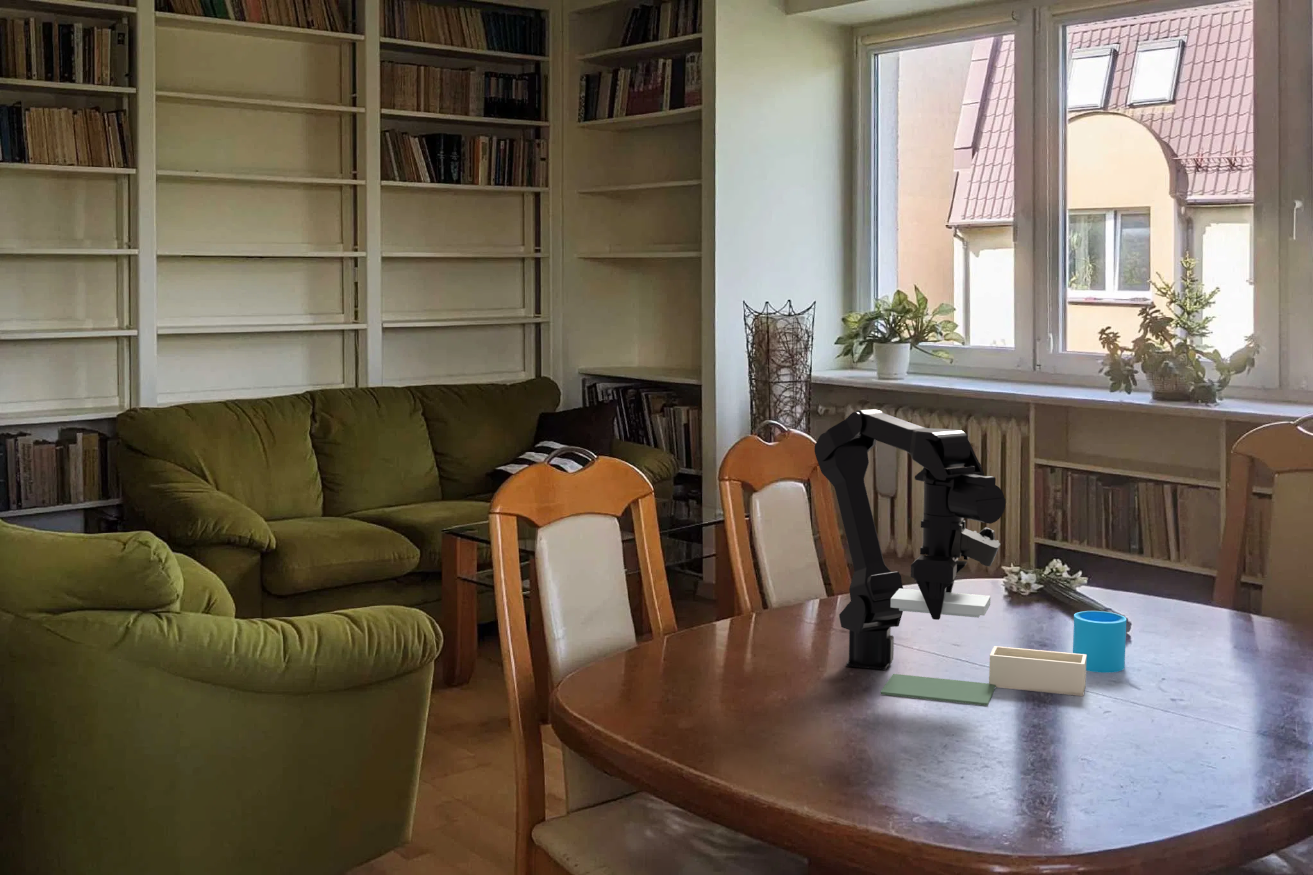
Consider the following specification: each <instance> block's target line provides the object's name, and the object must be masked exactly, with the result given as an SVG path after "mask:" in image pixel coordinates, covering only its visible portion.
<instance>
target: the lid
mask: <svg viewBox="0 0 1313 875" xmlns="http://www.w3.org/2000/svg"><path fill="white" fill-rule="evenodd" d="M991 598H992V596H991V595H987V594H986V595H984V594H972V593H961V592H960V593H959V592H951V593H950V592H946V593H945V598H944V603H943V608H942V612H941V615H945V616H953V617H955V616H956V617H968V618H978V619H979V618H980V617H981V616H985V615H986V613H987V611H988V610H989V608H990V607H991ZM891 607H892V608H899V611H903V612H911V613H922V614H930V612H929V609H928V607H927V605H926V602H925V600H924V598H923V595H922V593H921V591H920V589H912V588H903V589H901V588H899V589H898V591H897V592H896V593H895V594H894V595H893V596H892V598H891Z"/></svg>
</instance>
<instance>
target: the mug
mask: <svg viewBox="0 0 1313 875" xmlns="http://www.w3.org/2000/svg"><path fill="white" fill-rule="evenodd" d="M1126 632H1127V617H1126V616H1124V615H1121V614H1119V613H1115V612H1111V611H1104V610H1101V611H1100V610H1084V611H1079V612H1075V613H1074V614H1073V633H1072V634H1073V637H1072V638H1073V640H1072V641H1073V642H1072V653H1075V654H1086V655H1087V657H1086V672H1093V673H1103V674H1106V673H1107V674H1108V673H1109V674H1110V673H1111V674H1112V673H1119V672H1122V671H1123V670H1125V669H1126V668H1125V665H1126V664H1125V663H1126V643H1127V642H1126V639H1127V638H1126V637H1127V633H1126Z"/></svg>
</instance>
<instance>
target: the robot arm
mask: <svg viewBox="0 0 1313 875" xmlns="http://www.w3.org/2000/svg"><path fill="white" fill-rule="evenodd" d="M877 441H878V442H880V443H883V444H886V445H888V446H891V447H893V448H896V449H899V450H902V451H904V452H906V453H907V454H909V455H910V457H911V460H913V461H914V462H915V463H916V464H918V465H920V467H922V469H921V470H920V471H919V472H918V473H916V474H915V475H914V480H915V481H920V482H923V514H922V516H923V517H922V520H920V528H921V529H922V545H921V546H920V548H919V549H920V550H919V552H920V553H919V554H920V555H919V556H918V557H917V558H916V559H915V560H914V561H913V562H912V563H911V564H910V578H912V579H914V581H915V582H916V584H917V586H918V588H919V589H918V590H920V591H921V593H922V595H923V598H924V600H925V602H926V605H927V607H928V609H929V612H930V613H929V614H930V616H931V619H932V620H937V621H939V620H940V619H941V616H942V614H941V612H942V608H943V603H944V598H945V593H946V592H950V593H953V592H952V591H953V588H954V584H955V581H956V579H957V578H958V576H957V574H958V573H959V572H960V571H961V570H962V569H964V567H965V566H966V565H967V564H968V560H969V559H971V560H975V561H977V562H979V563H980V564H981V565H983V566H984V567H991V566H992V564H993V563H994V561H995V558H996V556H997V554H998V551H999V549H1000V547H1001V542H1000V540H998V539H996V533H995V530H993V529H992V528H989V527H987V526H985V527H983V529H981V530H980V531H979V532H978V531H977V530H974V531H973V530H970V529H968V528H966V526H967V524H966V523H967V522H966V520H964V519H967V520H969V521H975V522H980V523H984V524H987V525H988V524H994V523H996V522H998V521H999V520H1000V518H1002V516H1003V514H1004V512H1005V510H1006V509H1005V508H1006V504H1007V501H1006V497H1005V494H1004V492H1003V490H1002V489H1001V488H1000V487H999V486H998V485H996V480H997V479H996V477H995V476H992V475H985V472H984V471H983V468H982V465H981V462H980V461H979V459H978V457H977V455H976V453H975V451H974V448H973V446H972V445H971V442H970V440H969V439H968V435H967V433H966V432H964V431H963V430H960V429H953V428H952V429H951V428H929V427H924V426H921V425H918V424H915V423H912V422H910V421H909V422H908V421H907V420H904V419H901V418H898V417H895V416H892V415H890V414H887V413H884V412H883V411H882V410H878V408H877V409H876V408H874V409H873V408H872V409H871V408H870V409H857V410H855V411H853V412H851V413H850V414H849V415H848V416H847V417H846V418H845V419H843V420H842V421H841V422H838V423H837V424H835V425H833V426H831V427H830V428H829V429H827V430H826V431H825V432H823V433H821V434H820V435H819V436H818V438H817V441H816V443H815V444H814V455H815V458H816V461H817V464H818V466H819V469H820V472H821V474H822V475H823V477H825V478H826V479H827V481H829V483H830V484H831V485H832V486H833V488H834V491H835V496H836V498H837V504H838V507H839V510H840V516H841V519H842V523H843V528H844V532H845V536H846V540H847V545H848V548H849V552H850V557H851V562H852V565H853V571H854V572H853V575H852V578H851V582H850V584H849V585H850V586H849V589H848V590H849V597H850V601H849V602H848V604H847V605H846V606H845V607H844V609H842V610H841V612H840V613H839V614H838V617H839V622H840V626H841V628H842V629H846V630H848V631H849V632H848V660H847V662H845V667H846V666H847V667H852V668H861V669H870V670H871V669H872V670H886V669H887V668H888V667H889V666H890V665H891V664H892V662H893V660H894V649H895V648H894V647H895V646H894V645H895V644H894V642H895V638H894V636H893V635H891V631H892V630H891V628H894V627H895V628H896V627H899V626H900V623H901V619H902V615H903V612H904V611H899V608H892V607H891V598H892V596H893V595H894V594H895V593H896V592H897V591H898V589H899V588H901V589H904V586H903V580H902V575H901V574H900V571H891V570H890V569H889V567H888V566H887V565H886V564H885V561H884V558H883V553H882V550H881V544H880V541H879V536H878V532H877V528H876V525H875V520H874V516H873V513H872V507H871V504H870V503H871V502H870V499H869V495H868V492H867V487H866V484H865V483H866V482H865V476H866V474H867V471H868V467H869V464H870V461H869V460H870V459H869V454H868V453H869V452H870V451H871V449H872V448H874V447H875V445H877ZM961 557H963V560H959V559H960V558H961Z"/></svg>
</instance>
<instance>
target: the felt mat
mask: <svg viewBox="0 0 1313 875" xmlns="http://www.w3.org/2000/svg"><path fill="white" fill-rule="evenodd" d="M996 688H997V687H996V685H993V684H989V682H988V683H987V682H977V681H969V680H958V679H950V678H949V679H948V678H939V677H930V676H928V677H927V676H919V675H910V674H909V675H908V674H899V673H892V675H891V676H890V677H889V679H888V680H887V681H886V683H885V685H884V686H883V687H882V689H881V690H880V695H881V696H882V695H884V696H893V697H902V698H913V699H919V700H920V699H923V700H931V701H939V702H949V703H957V704H968V705H975V706H985V707H988V706H989V703H990V701H991V699H992V696H993V694H994V691H995V690H996Z"/></svg>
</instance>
